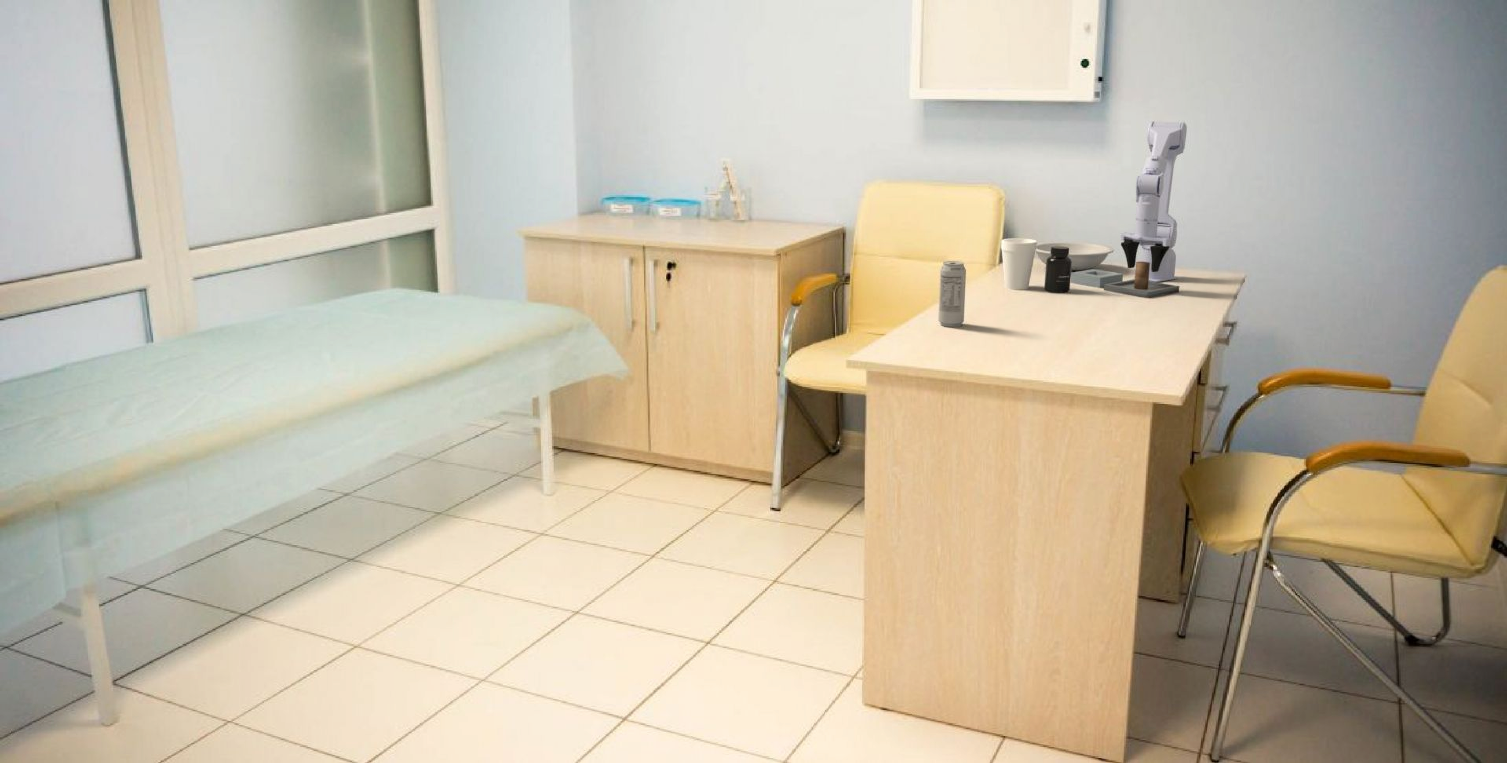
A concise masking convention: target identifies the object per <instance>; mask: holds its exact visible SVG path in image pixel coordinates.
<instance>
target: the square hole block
mask: <svg viewBox="0 0 1507 763" xmlns="http://www.w3.org/2000/svg"><path fill="white" fill-rule="evenodd" d="M1123 279H1124V273H1120V272H1114V271H1107V270H1102V269H1095V268H1091V269H1087V270H1078V271H1075V272H1074V271H1072V272H1071V281H1070V284H1077V285H1081V286H1082V285H1083V286H1088V287H1093V288H1098V289H1099V288H1104V284H1110V283H1115V282H1121V281H1124V280H1123Z"/></svg>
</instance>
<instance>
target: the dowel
mask: <svg viewBox="0 0 1507 763" xmlns="http://www.w3.org/2000/svg"><path fill="white" fill-rule="evenodd" d="M1149 269H1150V263H1149V262H1142V261H1136V262H1135V271H1134V273H1135V274H1134V277H1135V278H1134V279H1135V283H1134V288H1135V289H1148V281H1149Z"/></svg>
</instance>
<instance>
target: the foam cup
mask: <svg viewBox="0 0 1507 763" xmlns="http://www.w3.org/2000/svg"><path fill="white" fill-rule="evenodd" d="M1000 244H1001V246H1000V247H1001V248H1000V250H1001V256H1002V267H1003V268H1002V269H1003V279H1004V289H1007V290H1008V289H1009V290H1014V291H1015V290H1017V291H1018V290H1021V291H1022V290H1028V289H1029V287H1030V283H1031V282H1030V281H1031V276H1032V269H1033V266H1034V265H1033V264H1034V258H1035V254H1036V245H1037V244H1038V243H1037V240H1036V239H1032V238H1020V237H1019V238H1018V237H1017V238H1014V237H1013V238H1005V239H1002V240H1001V243H1000Z"/></svg>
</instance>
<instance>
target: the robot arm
mask: <svg viewBox="0 0 1507 763" xmlns="http://www.w3.org/2000/svg"><path fill="white" fill-rule="evenodd" d="M1187 128H1188V127H1187V124H1186V122H1184V121H1182V122H1164V121H1150V123H1148V128H1147V133H1146V134H1147V136H1146V138H1147V139H1146V140H1147V144H1148V149H1149V151H1150V153H1151V155H1149V156H1147V158H1146V159H1145V162H1144V165H1143V169H1142V171H1141V174H1140V175H1138V176H1137V178H1136V182H1135V202H1136V214H1135V224H1134V227H1135V228H1134V232H1121V233H1120V241H1123V242H1120V246H1121V248H1122V250H1123V252H1124V255H1125V258H1126V264H1127V268H1128V269H1132V268H1136V262H1137V261H1136V260H1137V252H1138V249H1139V246H1140V247H1141V249H1142V257H1141V258H1142V259H1141V262H1149V263H1150V269H1149V281H1152V282H1157V283H1161V282H1165V281H1170V280H1176V279H1178V277H1177V276H1175V272H1176V262H1177V255H1176V252H1175V250H1174V247H1175V246H1176V242H1177V237H1178V232H1177V228H1178V223H1177V220H1176V219H1175V218H1174V217H1173V216H1172V215H1170V214H1169V210H1170V201H1171V200H1170V199H1171V192H1172V184H1173V176H1174V169H1175V163H1176V159H1177V158H1178V156H1179V155H1181V154H1183V153H1184V150H1185V148H1186V147H1185V146H1186V140H1187ZM1134 279H1135V276H1134Z"/></svg>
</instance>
